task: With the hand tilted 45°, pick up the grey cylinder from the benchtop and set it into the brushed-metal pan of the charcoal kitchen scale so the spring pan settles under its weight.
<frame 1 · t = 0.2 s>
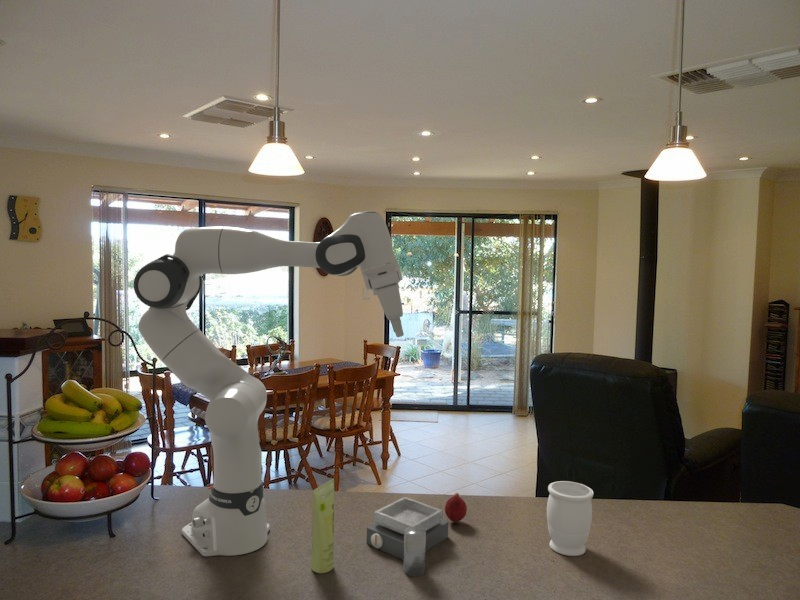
hand: (399, 334, 138), 52 cm above the countertop, tool tilted 20°, fingers open, 8 cm apart
jar: (567, 549, 143), on the countertop
scale: (407, 540, 144), on the countertop
pan: (408, 516, 144), point 6 cm above the countertop, slide at 0.3 cm
tube: (321, 569, 130), on the countertop
onion: (455, 523, 155), on the countertop
grey cylinder: (413, 570, 131), on the countertop
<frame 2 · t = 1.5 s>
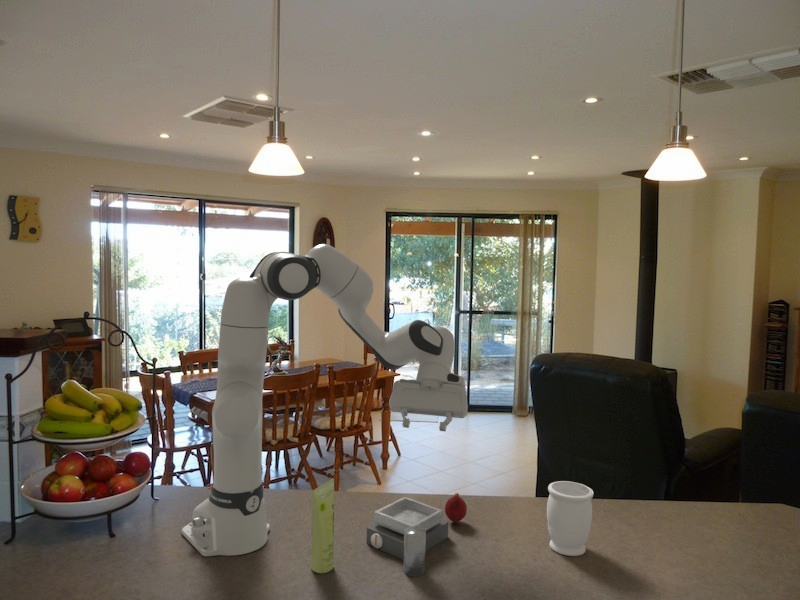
hand: (423, 428, 146), 27 cm above the countertop, tool tilted 45°, fingers open, 8 cm apart
nothing on the countertop moved.
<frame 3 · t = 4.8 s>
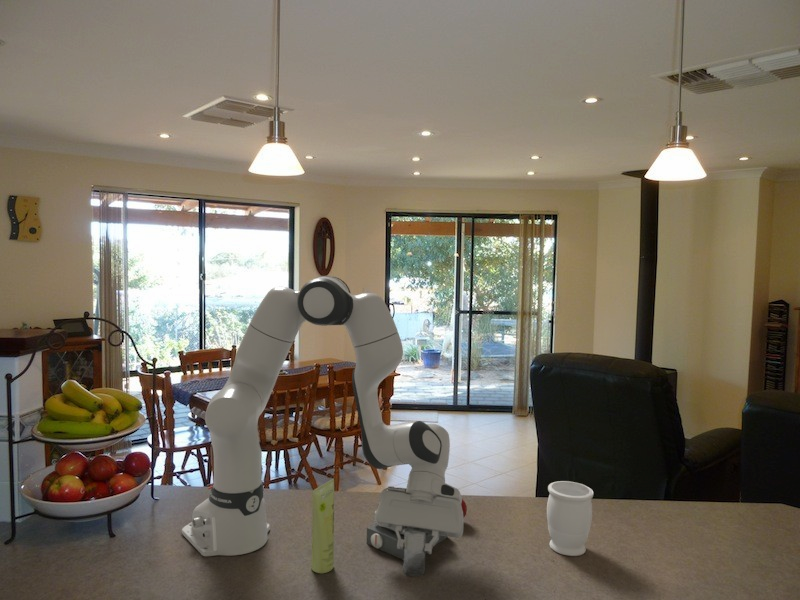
hand: (414, 550, 130), 5 cm above the countertop, tool tilted 45°, fingers closed on grey cylinder, 5 cm apart
grey cylinder: (413, 570, 131), on the countertop, touching gripper
everything else where it was.
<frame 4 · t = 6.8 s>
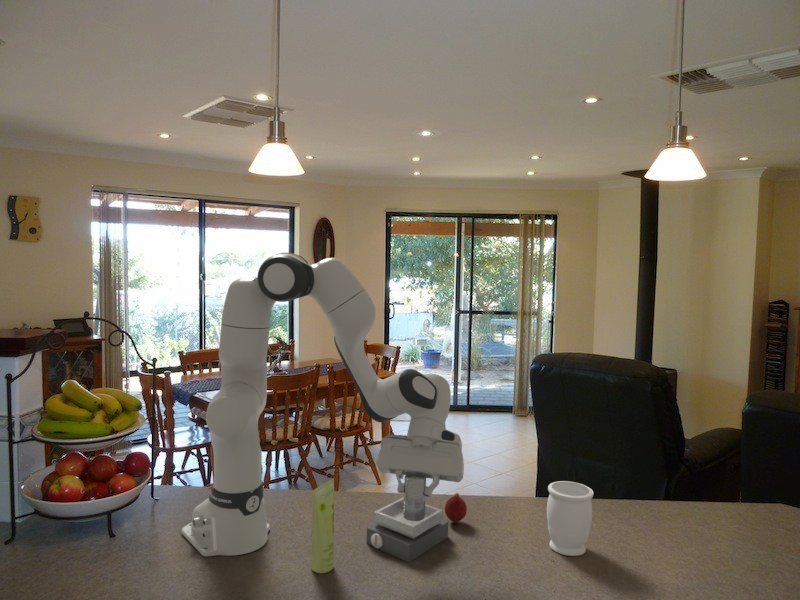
hand: (414, 494, 130), 17 cm above the countertop, tool tilted 45°, fingers closed on grey cylinder, 5 cm apart
grey cylinder: (414, 516, 131), point 12 cm above the countertop, touching gripper
everything else where it was.
when the fingers open (12 cm above the countertop, at t = 8.9 s): grey cylinder stays where it is, resting on pan.
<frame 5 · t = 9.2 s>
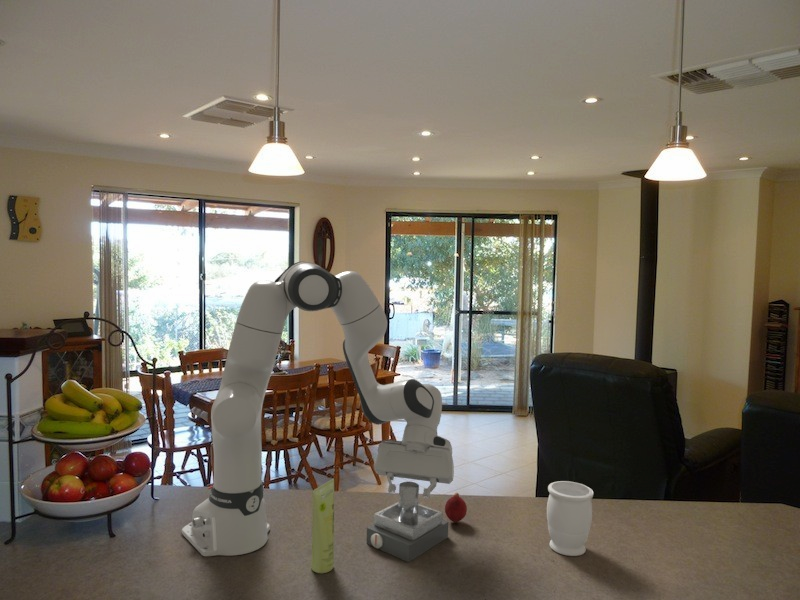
hand: (408, 494, 143), 12 cm above the countertop, tool tilted 45°, fingers open, 7 cm apart
pan: (408, 518, 144), point 6 cm above the countertop, slide at 0.9 cm, touching grey cylinder
grey cylinder: (408, 520, 144), point 5 cm above the countertop, touching pan
everything else where it was.
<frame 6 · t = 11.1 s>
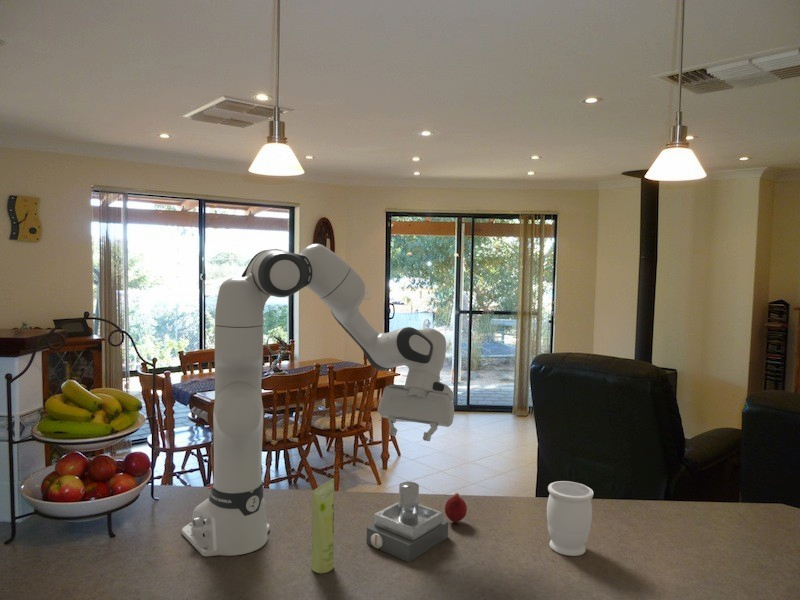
hand: (409, 437, 150), 24 cm above the countertop, tool tilted 35°, fingers open, 8 cm apart
nothing on the countertop moved.
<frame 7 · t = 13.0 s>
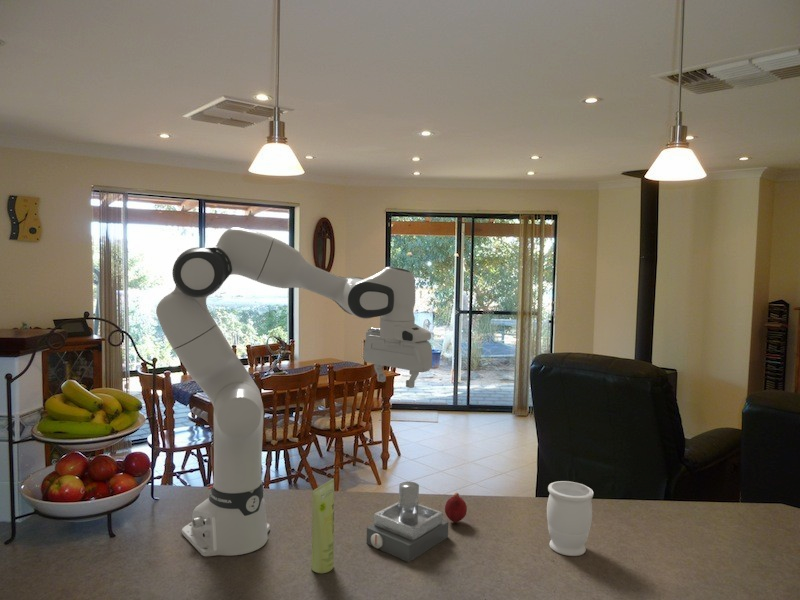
hand: (395, 384, 150), 37 cm above the countertop, tool pointing down, fingers open, 8 cm apart
nothing on the countertop moved.
at the end: grey cylinder inside the target area on the scale (0.1 cm from its centre), point 4.9 cm above the scale's base; the gripper is holding nothing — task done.
